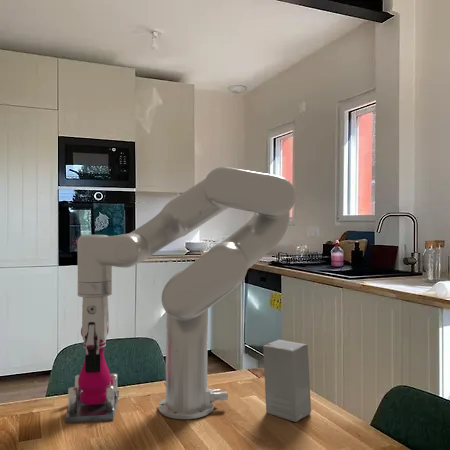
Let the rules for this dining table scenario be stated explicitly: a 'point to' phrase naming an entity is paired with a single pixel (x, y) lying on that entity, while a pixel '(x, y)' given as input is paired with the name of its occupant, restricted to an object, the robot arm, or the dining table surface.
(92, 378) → the pepper mill
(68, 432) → the dining table surface
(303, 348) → the skincare box
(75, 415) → the stand
